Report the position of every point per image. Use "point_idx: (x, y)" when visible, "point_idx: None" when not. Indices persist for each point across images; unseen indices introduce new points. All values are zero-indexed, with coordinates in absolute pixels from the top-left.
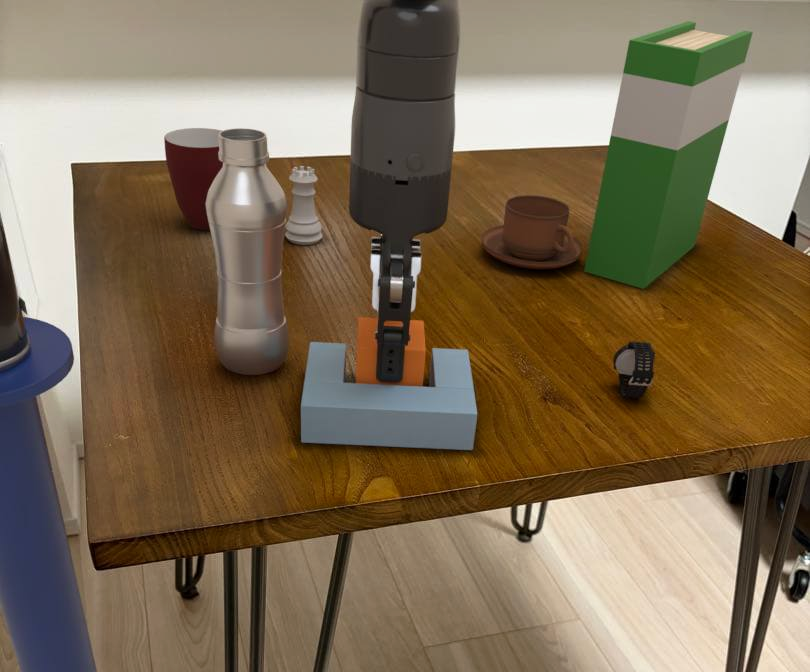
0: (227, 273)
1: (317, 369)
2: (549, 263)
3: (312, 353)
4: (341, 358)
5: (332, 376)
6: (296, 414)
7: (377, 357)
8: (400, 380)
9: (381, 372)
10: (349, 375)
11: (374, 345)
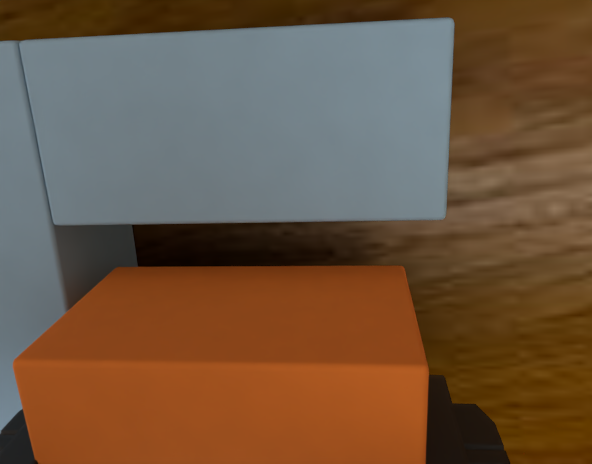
0: None
1: (136, 96)
2: None
3: (308, 49)
4: (274, 206)
5: (91, 174)
6: (122, 8)
7: (12, 438)
8: None
9: (13, 417)
10: (451, 189)
11: (57, 448)
